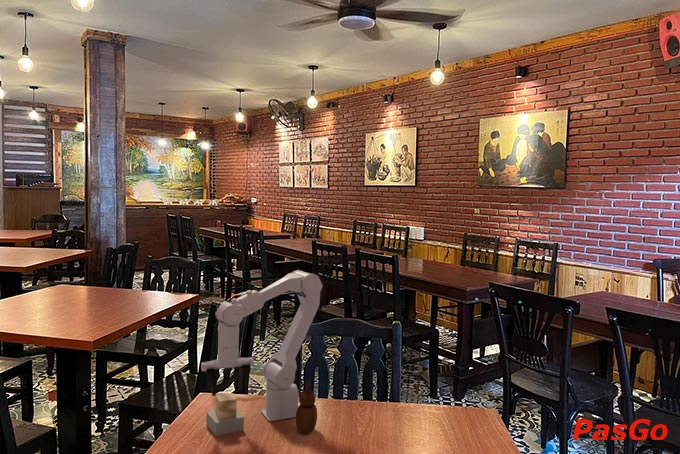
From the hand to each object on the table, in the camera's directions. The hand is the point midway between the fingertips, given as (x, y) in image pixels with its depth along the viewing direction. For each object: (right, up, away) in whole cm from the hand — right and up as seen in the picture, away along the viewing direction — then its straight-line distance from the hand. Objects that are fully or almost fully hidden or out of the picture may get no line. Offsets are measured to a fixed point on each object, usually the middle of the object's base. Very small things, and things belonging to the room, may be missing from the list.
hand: (227, 392), depth 145 cm
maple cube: (0, -6, 0) cm, 6 cm away
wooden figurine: (+22, -11, -1) cm, 25 cm away
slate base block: (-1, -10, 0) cm, 10 cm away
